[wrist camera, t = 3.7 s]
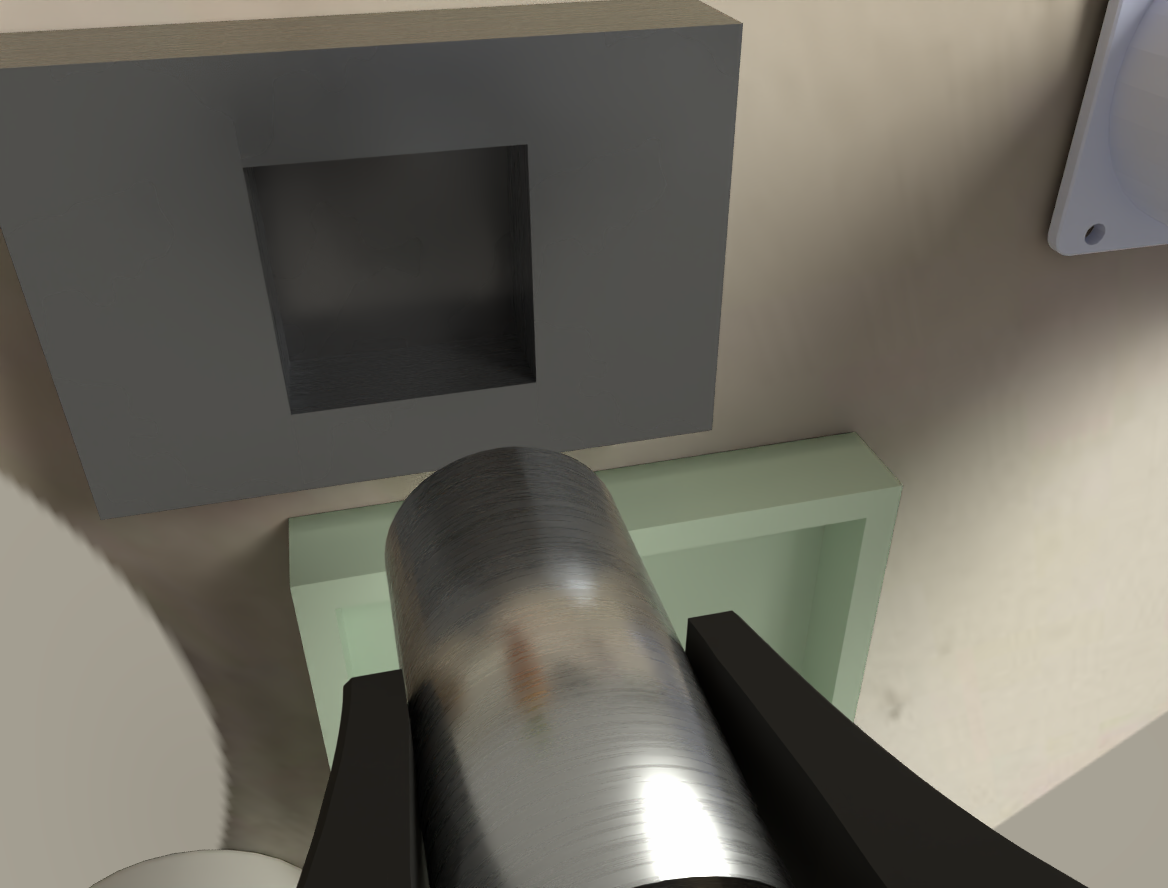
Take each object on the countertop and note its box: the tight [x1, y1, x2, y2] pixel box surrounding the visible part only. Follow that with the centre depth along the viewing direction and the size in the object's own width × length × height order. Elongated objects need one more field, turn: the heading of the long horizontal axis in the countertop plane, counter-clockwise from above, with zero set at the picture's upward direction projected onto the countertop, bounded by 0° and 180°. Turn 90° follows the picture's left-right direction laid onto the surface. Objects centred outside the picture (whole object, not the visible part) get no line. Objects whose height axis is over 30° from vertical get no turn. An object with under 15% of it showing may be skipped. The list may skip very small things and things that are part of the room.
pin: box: [384, 446, 795, 888], centre depth 12 cm, size 4×4×8 cm
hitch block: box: [0, 0, 743, 520], centre depth 19 cm, size 12×8×3 cm, turn 91°
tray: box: [289, 432, 903, 771], centre depth 26 cm, size 14×11×2 cm
